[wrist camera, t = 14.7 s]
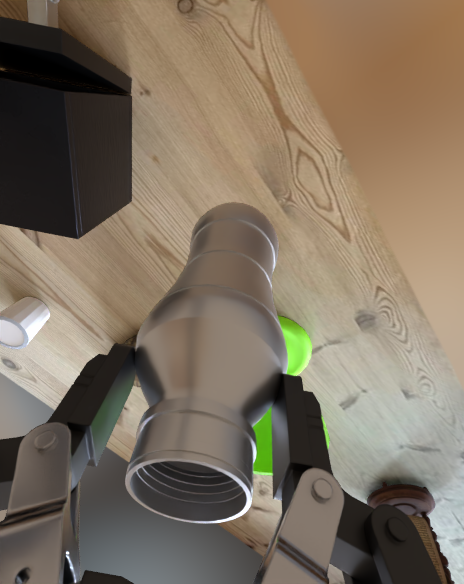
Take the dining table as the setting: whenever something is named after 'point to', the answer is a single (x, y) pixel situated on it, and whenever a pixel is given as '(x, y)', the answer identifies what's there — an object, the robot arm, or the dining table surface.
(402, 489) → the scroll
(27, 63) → the oven door
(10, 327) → the white cylindrical container
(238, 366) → the silver bottle
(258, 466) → the wineglass
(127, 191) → the oven
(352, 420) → the dining table surface
